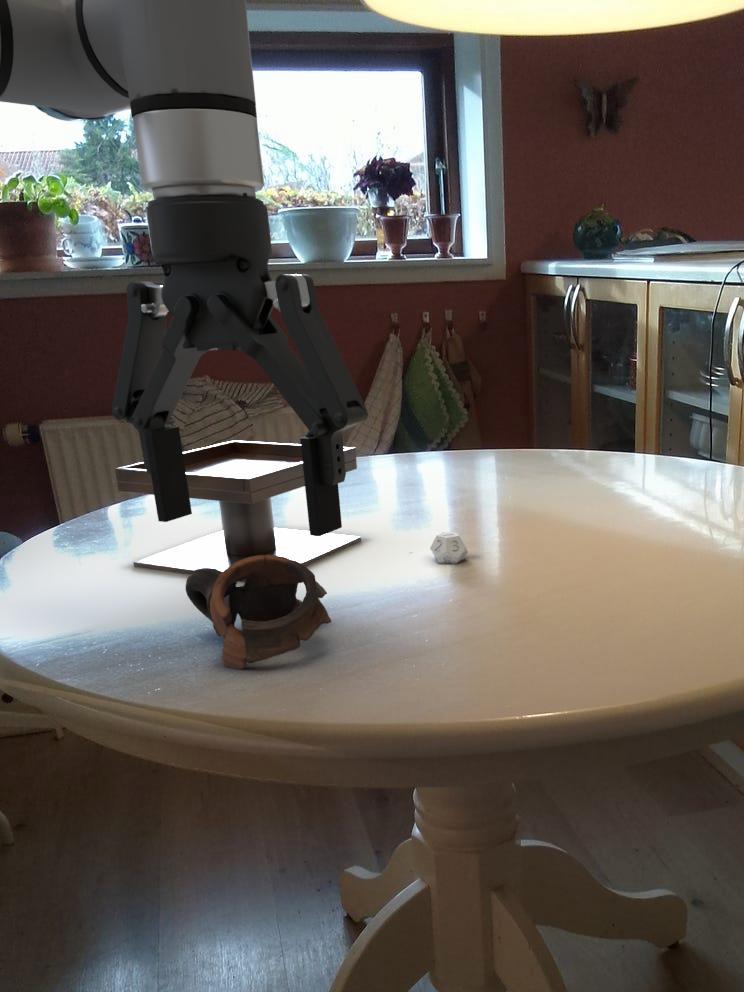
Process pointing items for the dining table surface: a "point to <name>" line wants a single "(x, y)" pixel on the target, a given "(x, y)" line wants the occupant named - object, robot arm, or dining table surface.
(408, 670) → the dining table surface
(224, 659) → the pottery mug
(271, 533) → the cup holder
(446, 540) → the game die
